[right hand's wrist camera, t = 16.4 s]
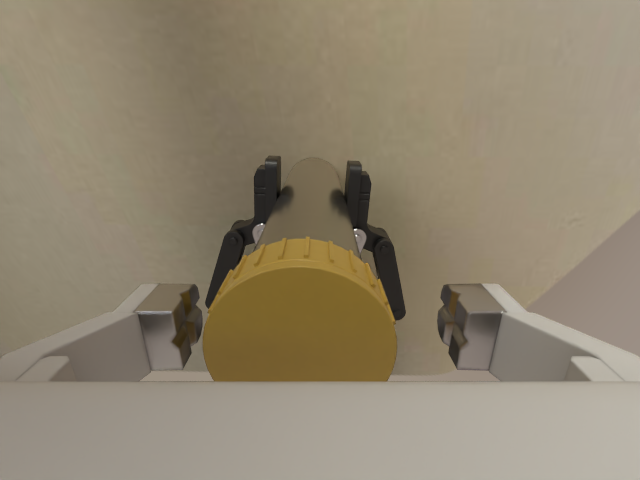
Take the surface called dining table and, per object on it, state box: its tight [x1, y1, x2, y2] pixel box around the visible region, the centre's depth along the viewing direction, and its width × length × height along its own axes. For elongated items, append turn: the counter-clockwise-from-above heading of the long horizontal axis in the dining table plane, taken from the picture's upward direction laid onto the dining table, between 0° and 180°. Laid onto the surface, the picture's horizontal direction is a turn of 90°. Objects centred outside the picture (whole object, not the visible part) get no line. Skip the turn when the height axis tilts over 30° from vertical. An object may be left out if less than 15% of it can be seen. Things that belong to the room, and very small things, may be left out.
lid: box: [203, 237, 397, 381], centre depth 9 cm, size 5×5×2 cm
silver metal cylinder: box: [253, 158, 362, 261], centre depth 18 cm, size 4×4×19 cm
